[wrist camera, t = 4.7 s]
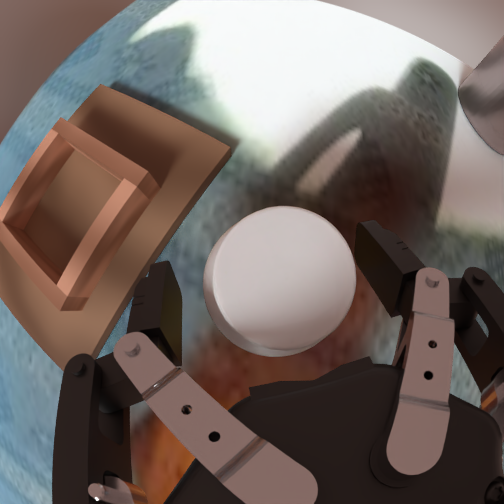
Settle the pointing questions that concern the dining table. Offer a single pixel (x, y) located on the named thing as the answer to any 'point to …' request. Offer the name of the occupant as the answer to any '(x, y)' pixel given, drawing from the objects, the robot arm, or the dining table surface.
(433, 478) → the robot arm
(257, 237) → the supplement bottle
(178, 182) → the socket board
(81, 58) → the dining table surface
